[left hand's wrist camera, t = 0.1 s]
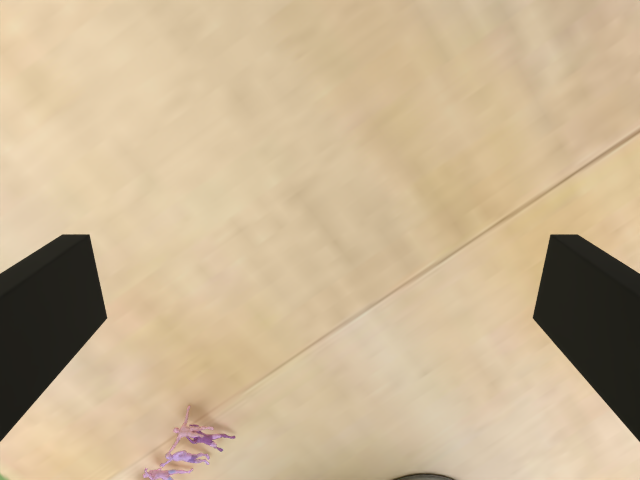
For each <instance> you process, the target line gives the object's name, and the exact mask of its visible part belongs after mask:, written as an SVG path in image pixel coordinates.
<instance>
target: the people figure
mask: <svg viewBox="0 0 640 480" xmlns="http://www.w3.org/2000/svg"><path fill="white" fill-rule="evenodd" d="M189 409H190V406H188V408H187V413H186V418H185V421H184V423H183V425H182V427H181V428H180V429H179V428H174V429H173V432H175V433H178V437H177V439H176V441H175V443H174V445H173V446H172V448H171V449H170V451H169V452H168V453H167V454H166V456H165V457H166V459H169V460H168V461H167V462H166V463H162V464H161V465H160V467H161V466H163V467H164V465H166V464H167V463H169V462H170V461H172V460H174V461H181V460H183V461H186V462H190V463H201V462H205V463H206V464H207V465H209V462H208V461H206V459H204V460H201V459H198V460H197V459H196V458H198V457H200V456H206V457H207V459H208V460H209V458H210V457H209V455H208V454H203V453H199V454H191V453H187V452H186V451H185V450H184V451H179V452H176V453H174V454H173V455H171V454H170V452H171V451H172V450H173V449H174V448H175V446H176V445H177V443H178V442H179V440H180V438H181V437H185V436H186V437H187V436H188V437H187V438H188V439H189V441H190V442H191V443H193V444H197V443H205V444H207V445H209V446H212V447H214V448H216V449H218V450H219V451H222V450H223V449H221V448H219V447H217V444H216V443H215V442H214V441H212V440H214V439H218V438H221V437H224V438H230V439H232V438H233V439H234V438H235V436H232V437H231V436H228V435H226V434H212V435H207V434H204V433H202V432H201V430H204V429H211V430H214V429H213V427H205V426H201V427H199V426H198V425H194V424H193V425H191V426H195V427H190V428H189V427H187V426H186V424H187V421H188V415H189ZM189 437H192V438H194V441H193V440H191V439H190V438H189ZM147 469H148V468H147ZM147 469H146V468H145V471H144V472H145V473H144V474H143V477H144V478H146V477H149V478H150V479H151V480H156V479H158V478H162V479H163V480H173V479H172V478H171V477H170V476H169V475H172V474H175V473H181V474H182V473H190V472H191V471H192V470H193V468H192V469H191V470H189V471H184V470H166V471H162V470H161V468H159V469H157V470H150V471H149V472H147Z"/></svg>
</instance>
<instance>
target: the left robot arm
mask: <svg viewBox="0 0 640 480" xmlns="http://www.w3.org/2000/svg"><path fill="white" fill-rule="evenodd" d="M106 319H107V315H106V310H105V305H104V301H103V296H102V291H101V287H100V282H99V277H98V273H97V268H96V263H95V258H94V254H93V249H92V244H91V240H90V235H61V236H59V237H58V238H56V239H55V240H53V241H51V242H50V243H48V244H47V245H45V246H44V247H42V248H40V249H39V250H37V251H36V252H34V253H32V254H31V255H29V256H28V257H26V258H25V259H23V260H21V261H20V262H18V263H17V264H15V265H13V266H12V267H10V268H9V269H7V270H6V271H4V272H2V273H1V274H0V442H1V440H2V439H3V438H4V437H5V436H6V435H7V433H8V432H9V431H10V430H11V429H12V428H13V426H14V425H15V424H16V423H17V422H18V421H19V420H20V418H21V417H22V416H23V415H24V414H25V413H26V411H27V410H28V409H29V408H30V407H31V406H32V405H33V403H34V402H35V401H36V400H37V399H38V398H39V396H40V395H41V394H42V393H43V392H44V391H45V389H46V388H47V387H48V386H49V385H50V384H51V383H52V381H53V380H54V379H55V378H56V377H57V376H58V374H59V373H60V372H61V371H62V370H63V369H64V368H65V366H66V365H67V364H68V363H69V362H70V361H71V359H72V358H73V357H74V356H75V355H76V354H77V352H78V351H79V350H80V349H81V348H82V347H83V346H84V344H85V343H86V342H87V341H88V340H89V339H90V337H91V336H92V335H93V334H94V333H95V332H96V331H97V329H98V328H99V327H100V326H101V325H102V324H103V322H104V321H105V320H106ZM533 319H534V320H535V321H536V322H537V324H538V325H539V326H540V327H541V328H542V329H543V331H544V332H545V333H546V334H547V335H548V336H549V337H550V339H551V340H552V341H553V342H554V343H555V344H556V346H557V347H558V348H559V349H560V350H561V351H562V352H563V354H564V355H565V356H566V357H567V358H568V359H569V361H570V362H571V363H572V364H573V365H574V366H575V368H576V369H577V370H578V371H579V372H580V373H581V374H582V376H583V377H584V378H585V379H586V380H587V381H588V383H589V384H590V385H591V386H592V387H593V388H594V389H595V391H596V392H597V393H598V394H599V395H600V396H601V398H602V399H603V400H604V401H605V402H606V403H607V405H608V406H609V407H610V408H611V409H612V410H613V411H614V413H615V414H616V415H617V416H618V417H619V418H620V420H621V421H622V422H623V423H624V424H625V425H626V426H627V428H628V429H629V430H630V431H631V432H632V433H633V435H634V436H635V437H636V438H637V439H638V440H639V442H640V274H639V273H638V272H636V271H634V270H633V269H631V268H630V267H628V266H627V265H625V264H623V263H622V262H620V261H619V260H617V259H615V258H614V257H612V256H611V255H609V254H608V253H606V252H604V251H603V250H601V249H600V248H598V247H596V246H595V245H593V244H592V243H590V242H589V241H587V240H585V239H584V238H582V237H581V236H579V235H550V240H549V244H548V249H547V254H546V258H545V263H544V268H543V273H542V277H541V282H540V287H539V291H538V296H537V301H536V305H535V310H534V315H533ZM397 480H452V479H450V478H446V477H443V476H437V475H413V476H408V477H404V478H400V479H397Z"/></svg>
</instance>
